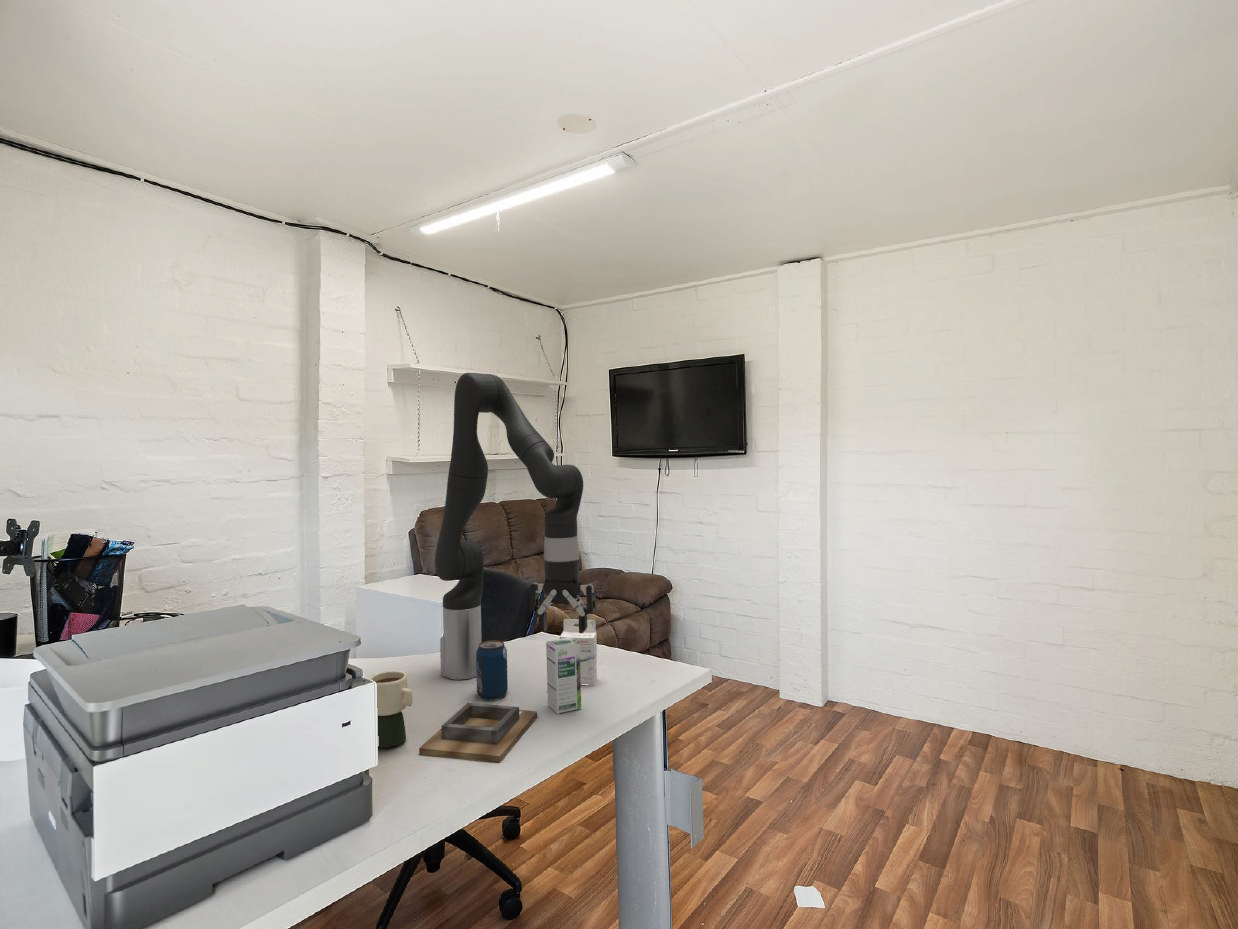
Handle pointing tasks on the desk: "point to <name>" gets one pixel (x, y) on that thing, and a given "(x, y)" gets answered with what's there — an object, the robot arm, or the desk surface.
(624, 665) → the desk surface
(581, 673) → the ink cartridge box
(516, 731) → the base board
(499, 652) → the soda can
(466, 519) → the robot arm
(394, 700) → the character mug
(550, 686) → the syrup box
